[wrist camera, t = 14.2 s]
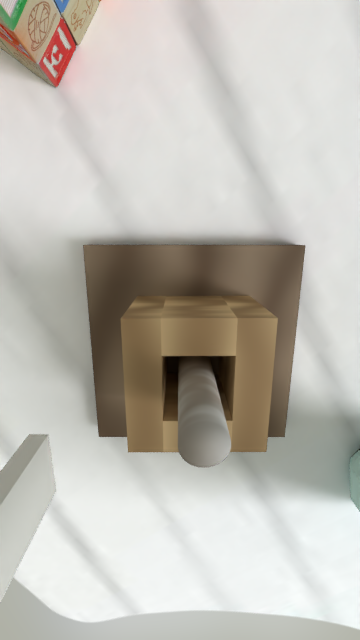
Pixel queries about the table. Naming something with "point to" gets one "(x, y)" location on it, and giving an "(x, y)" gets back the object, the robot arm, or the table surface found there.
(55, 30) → the stack of blocks
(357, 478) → the water bottle
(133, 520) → the table surface
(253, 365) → the bead
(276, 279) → the board
